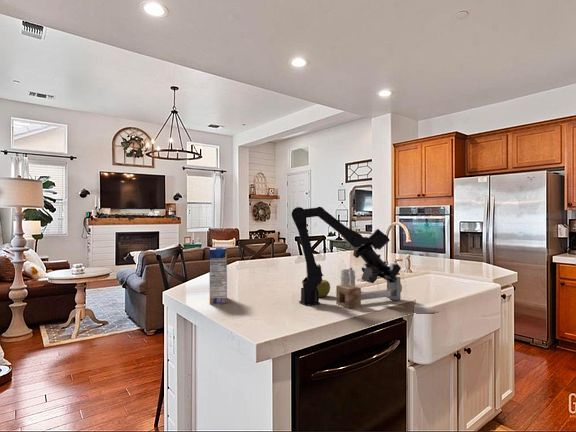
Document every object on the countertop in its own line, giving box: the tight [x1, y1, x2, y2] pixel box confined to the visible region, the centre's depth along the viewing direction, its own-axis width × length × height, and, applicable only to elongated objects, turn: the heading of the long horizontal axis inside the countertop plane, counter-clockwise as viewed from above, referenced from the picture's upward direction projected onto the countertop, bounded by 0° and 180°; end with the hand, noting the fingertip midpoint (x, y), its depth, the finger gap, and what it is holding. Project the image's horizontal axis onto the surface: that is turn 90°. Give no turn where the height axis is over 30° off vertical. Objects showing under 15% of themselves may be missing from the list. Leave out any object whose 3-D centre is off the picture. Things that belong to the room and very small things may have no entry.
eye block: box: [335, 284, 362, 309], centre depth 141 cm, size 6×8×8 cm
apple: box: [317, 279, 331, 298], centre depth 157 cm, size 8×8×7 cm
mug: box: [340, 266, 356, 286], centre depth 168 cm, size 8×12×12 cm, turn 5°
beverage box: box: [209, 246, 228, 305], centre depth 150 cm, size 7×11×22 cm, turn 11°
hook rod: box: [361, 275, 403, 301], centre depth 147 cm, size 24×6×10 cm, turn 116°
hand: (391, 282), depth 150 cm, fingers closed, pressing on hook rod
